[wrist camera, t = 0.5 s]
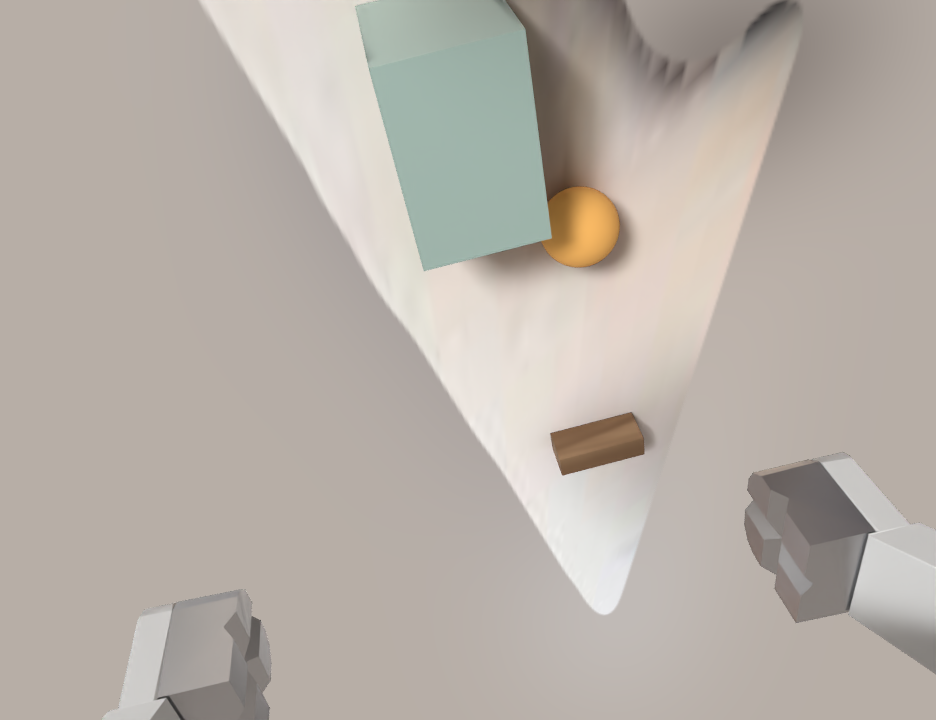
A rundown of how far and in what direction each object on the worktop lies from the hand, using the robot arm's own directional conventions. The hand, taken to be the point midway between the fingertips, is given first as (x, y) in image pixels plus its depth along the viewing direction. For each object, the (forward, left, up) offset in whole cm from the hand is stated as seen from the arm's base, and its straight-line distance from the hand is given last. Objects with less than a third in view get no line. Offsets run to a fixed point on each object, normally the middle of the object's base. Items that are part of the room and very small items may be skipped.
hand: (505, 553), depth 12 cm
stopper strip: (+38, +13, -35) cm, 54 cm away
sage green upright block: (+7, +4, -35) cm, 36 cm away
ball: (+16, +11, -33) cm, 38 cm away
